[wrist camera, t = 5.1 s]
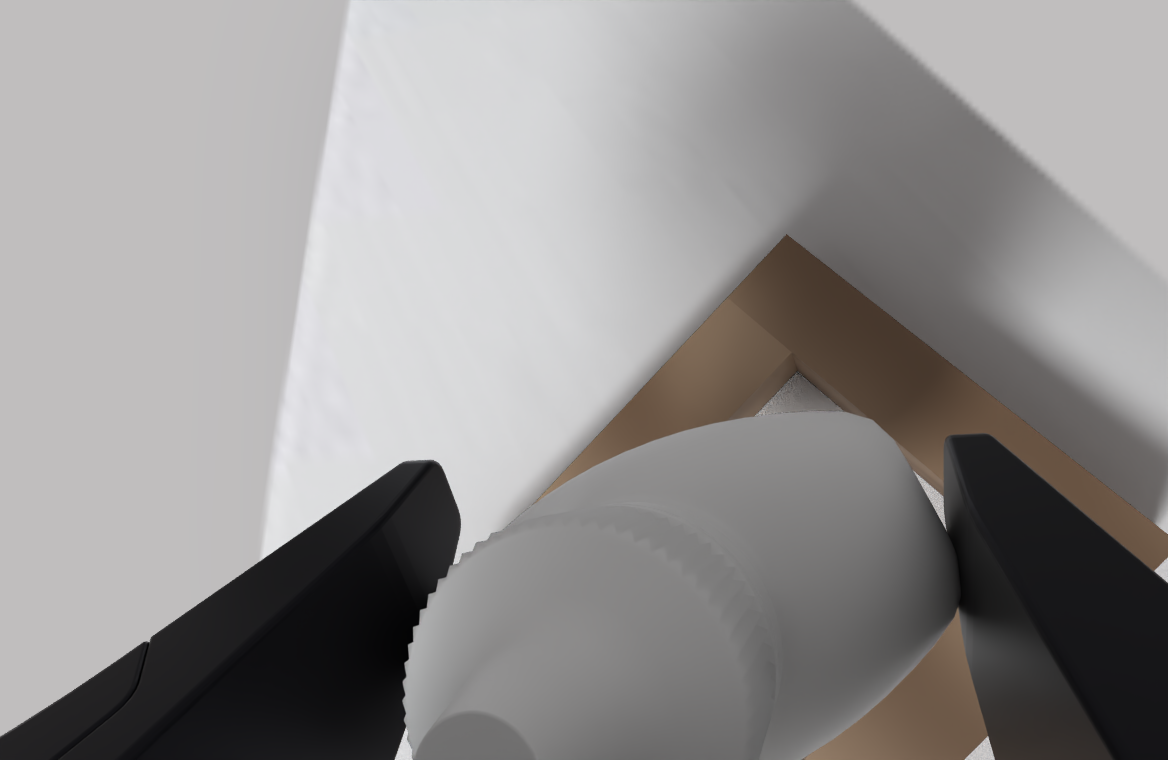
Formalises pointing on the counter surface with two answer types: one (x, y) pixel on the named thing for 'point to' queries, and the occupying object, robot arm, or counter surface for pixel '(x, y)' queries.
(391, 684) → the robot arm
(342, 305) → the counter surface
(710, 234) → the counter surface
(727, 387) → the wooden tray
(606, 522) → the eye dropper bottle
